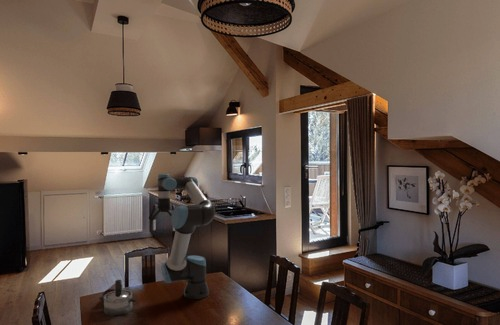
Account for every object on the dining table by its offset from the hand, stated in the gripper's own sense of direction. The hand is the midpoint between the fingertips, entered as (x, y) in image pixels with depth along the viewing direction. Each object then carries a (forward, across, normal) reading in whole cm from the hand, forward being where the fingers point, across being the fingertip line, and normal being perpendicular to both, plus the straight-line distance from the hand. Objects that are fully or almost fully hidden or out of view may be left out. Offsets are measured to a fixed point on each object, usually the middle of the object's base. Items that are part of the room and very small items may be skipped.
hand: (164, 230), depth 225 cm
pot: (+37, +11, +37) cm, 53 cm away
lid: (+30, +11, +37) cm, 49 cm away
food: (+37, +21, +22) cm, 48 cm away
